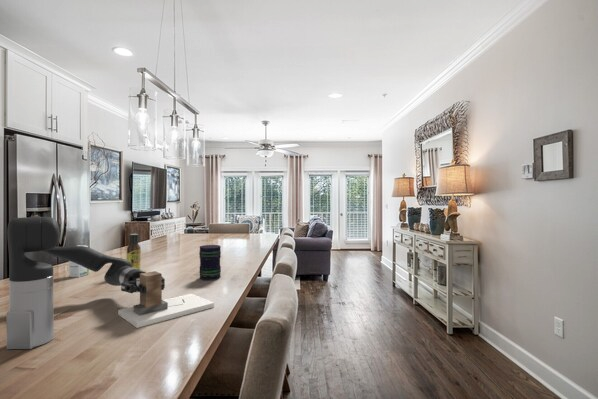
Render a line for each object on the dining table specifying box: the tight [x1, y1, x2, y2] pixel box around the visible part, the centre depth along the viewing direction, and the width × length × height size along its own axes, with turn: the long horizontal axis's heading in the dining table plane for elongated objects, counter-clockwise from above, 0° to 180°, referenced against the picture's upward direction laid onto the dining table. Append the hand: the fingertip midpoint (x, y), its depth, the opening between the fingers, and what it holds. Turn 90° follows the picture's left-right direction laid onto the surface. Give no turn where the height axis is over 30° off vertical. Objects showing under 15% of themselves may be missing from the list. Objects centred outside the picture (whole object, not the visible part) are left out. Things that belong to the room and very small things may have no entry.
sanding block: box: [133, 270, 168, 316], centre depth 110 cm, size 9×5×12 cm, turn 136°
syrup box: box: [68, 244, 90, 278], centre depth 164 cm, size 6×6×14 cm
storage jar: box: [198, 244, 222, 281], centre depth 160 cm, size 10×10×15 cm
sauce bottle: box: [126, 233, 141, 270], centre depth 168 cm, size 6×6×20 cm
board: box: [117, 293, 215, 329], centre depth 114 cm, size 26×16×2 cm, turn 136°
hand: (154, 288), depth 108 cm, fingers closed on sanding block, 5 cm apart
